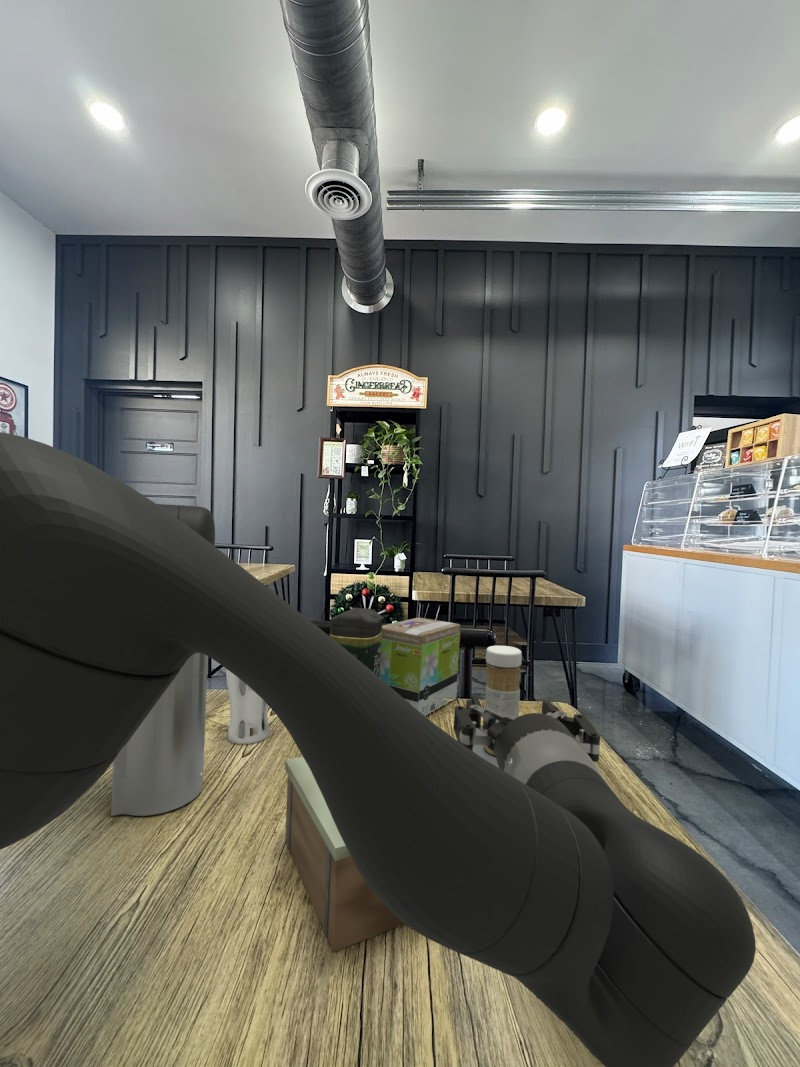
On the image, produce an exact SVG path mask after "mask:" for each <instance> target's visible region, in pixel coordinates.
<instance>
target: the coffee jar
mask: <svg viewBox="0 0 800 1067" xmlns="http://www.w3.org/2000/svg"><path fill="white" fill-rule="evenodd" d="M382 626H383V617H382V615H381V614H380V613H378V611H376V610H375V609H374V608H363V607H352V608H351V609H349V610H346V611H344V612H342V613H340V614H338V615H334V616H333V617H331V620H330V627H329V636H330V637H331V638H332V639H334V640H335V641H336V642H337V643H339V644H340V645H341V646H342V647H344V648H345V649H346V650H347V651H348V652H350V653H351V654H352V655H353V656H354V657H356V658H357V659H358V660H359V661H360V662H362V663H363V664H364V665H365V666H366V667H368V668H369V669H370V670H371V671H372V672H373V673H375V674H376V675H377V676H378V677H379V674H380V653H381V638H382Z"/></svg>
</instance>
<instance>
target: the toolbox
mask: <svg viewBox="0 0 800 1067" xmlns="http://www.w3.org/2000/svg"><path fill="white" fill-rule="evenodd" d="M284 770H285V772H286V773H287V788H286V814H285V818H286V819H285V834H284V835H285V838H284V839H285V842H286V846H287V848H288V849H289V853H290V854H291V857H292V859H293V862H294V863H295V864H294V865H295V866H296V869H297V871H298V874H299V876H300V878H301V880H302V882H303V885H304V887H305V890H306V892H307V894H308V896H309V898H310V901H311V904H312V906H313V909H314V911H315V913H316V915H317V919H318V920H319V923H320V925H321V927H322V930H323V932H324V936H325V937H326V940H327V941H328V943H329V946H330V948H331V951H332V952H333V953H335V952H337V951H338V952H339V951H340V950H342V949H345V948H348V947H350V946H353V945H355V944H357V943H360V942H363V941H365V940H367V939H370V938H373V937H375V936H378V935H381V934H383V933H385V932H388V931H391V930H393V929H396V928H398V927H401V926H403V925H405V924H404V923H403V922H402V921H401V920H399V919H398V918H397V917H396V916H395V915H394V914H393V913H392V912H391V911H390V910H389V909H388V908H387V907H386V906H385V905H384V904H383V903H382V902H381V901H380V900H379V899H378V898H377V897H376V895H375V894H374V893H373V891H372V890H371V889H370V887H369V886H368V885H367V883H366V882H365V880H364V879H363V877H362V875H361V874H360V872H359V871H358V869H357V867H356V865H355V863H354V861H353V859H352V857H351V855H350V853H349V851H348V849H347V847H346V845H345V843H344V841H343V839H342V837H341V835H340V833H339V831H338V829H337V827H336V825H335V822H334V820H333V818H332V816H331V813H330V811H329V809H328V806H327V804H326V802H325V800H324V797H323V795H322V793H321V791H320V789H319V787H318V785H317V783H316V780H315V778H314V776H313V774H312V772H311V770H310V768H309V766H308V764H307V763H306V761H305V759H304V757H303V756H300V757H294V758H288V759H285V760H284Z"/></svg>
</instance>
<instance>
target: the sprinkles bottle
mask: <svg viewBox="0 0 800 1067" xmlns="http://www.w3.org/2000/svg"><path fill="white" fill-rule="evenodd" d="M485 652H486V655H485V662H486V681H485V682H486V684H485V696H484V697H485V700H484V701H485V702H484V708H485V709H487V710H488V709H492V708H495V709H497V710H499V711H502V712H504V713H506V714H508V715H516V716H518V717H519V716H520V695H521V689H520V676H521V673H520V672H521V670H520V669H521V666H522V664H523V663H522V658H523V657H522V656H523V654H522V653H523V652H522V651H521V649H519V648H517V647H514V646H509V645H492V646H491V645H490V646H488V647H487V648H486V651H485ZM497 722H499V721H498V720H496V723H497ZM483 748H484V749H485V750H486V751H487V752H488V753H490V754H492V755H495V753H494V752H493V751H491V750H490V749H489V748H488V747H487V745H483ZM495 756H496V755H495Z"/></svg>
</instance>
